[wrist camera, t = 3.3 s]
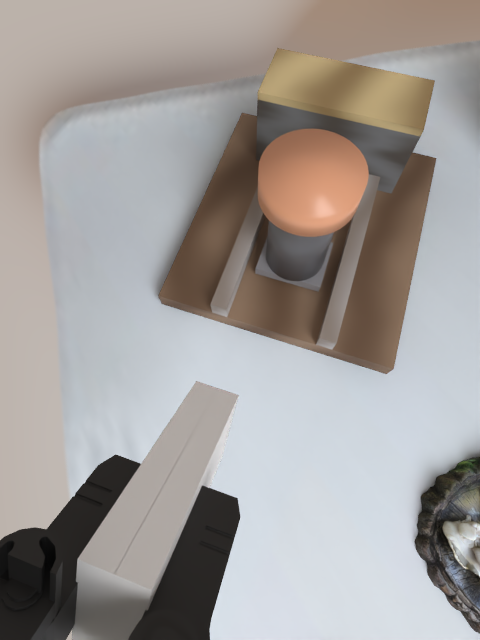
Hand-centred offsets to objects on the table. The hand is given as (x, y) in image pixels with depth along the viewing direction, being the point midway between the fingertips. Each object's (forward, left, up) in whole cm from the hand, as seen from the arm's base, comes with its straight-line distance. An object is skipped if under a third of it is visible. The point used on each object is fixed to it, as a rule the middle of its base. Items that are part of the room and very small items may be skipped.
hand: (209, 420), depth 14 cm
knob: (0, -15, -13) cm, 20 cm away
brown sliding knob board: (0, -19, -15) cm, 24 cm away
